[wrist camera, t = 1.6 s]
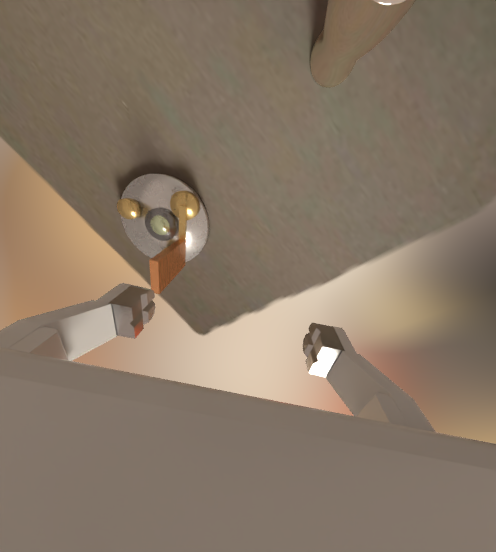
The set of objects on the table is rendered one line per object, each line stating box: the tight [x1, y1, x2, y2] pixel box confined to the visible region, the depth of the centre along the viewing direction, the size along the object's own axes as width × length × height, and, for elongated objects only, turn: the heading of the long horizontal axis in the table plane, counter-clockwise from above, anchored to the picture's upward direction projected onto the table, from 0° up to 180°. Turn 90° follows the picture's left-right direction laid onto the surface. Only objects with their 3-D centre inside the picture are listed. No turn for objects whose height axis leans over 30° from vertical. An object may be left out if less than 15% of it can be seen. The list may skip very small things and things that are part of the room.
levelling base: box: [117, 174, 209, 262], centre depth 36 cm, size 17×17×3 cm
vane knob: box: [150, 190, 200, 294], centre depth 31 cm, size 14×5×12 cm, turn 169°
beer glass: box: [310, 0, 416, 88], centre depth 19 cm, size 7×7×15 cm
